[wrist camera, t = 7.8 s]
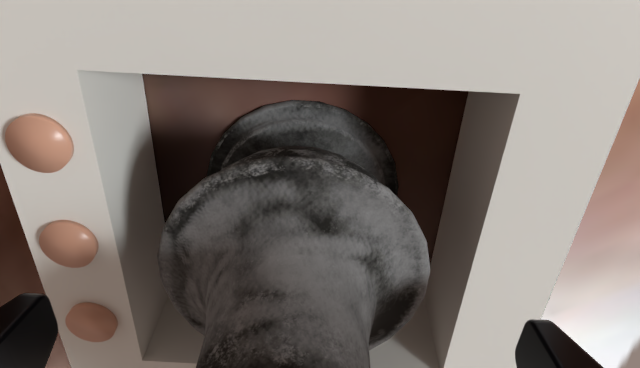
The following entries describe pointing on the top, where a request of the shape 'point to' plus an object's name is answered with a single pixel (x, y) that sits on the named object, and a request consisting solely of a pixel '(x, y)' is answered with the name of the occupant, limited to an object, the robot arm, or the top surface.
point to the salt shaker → (295, 243)
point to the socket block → (312, 67)
